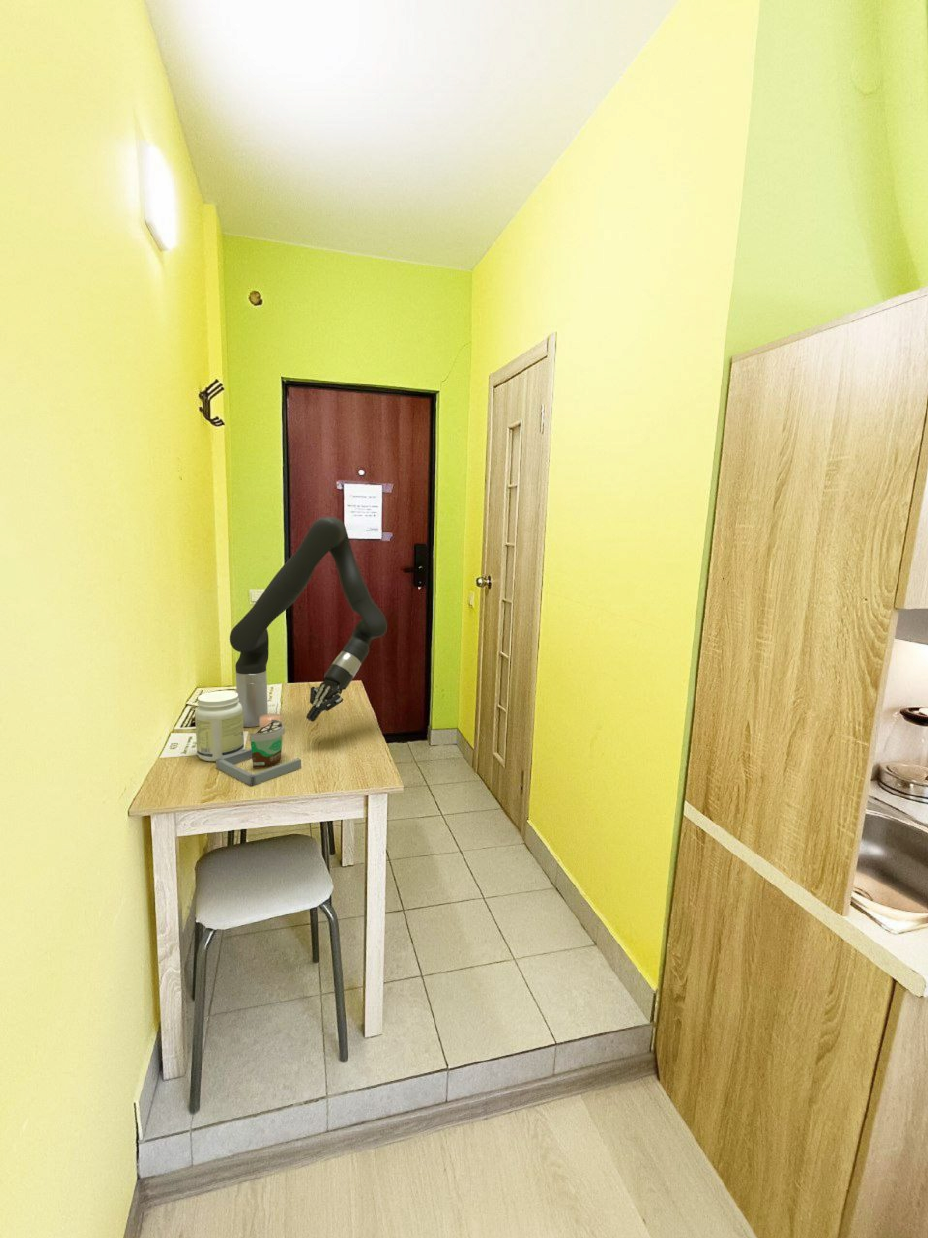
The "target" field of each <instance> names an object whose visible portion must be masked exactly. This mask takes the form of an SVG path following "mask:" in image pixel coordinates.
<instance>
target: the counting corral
mask: <svg viewBox="0 0 928 1238" xmlns="http://www.w3.org/2000/svg"><path fill="white" fill-rule="evenodd" d="M250 759H252V750H251V748H248V749H245V750H244V749H243V751H241V752H238V753H235V754H232V755H228V756H225V757H222V758H219V759H216V761H215V766H216V769H218V771H219V770H220V771H221V772H223V773H226V774H227V775H229V776H231V777H233V778H235V779H236V780H239V781H241V782H242V783H244V784H245V785H248V786H249V787H254V786H256V785H259V784H261V783H264V782H267V781H271V780H272V779H275V778H278V777H281V776H282V775H283V776H284V775H285V774H288V773H291V772H293V771H297V770H299V769H302V759H301V758H294V759H292V760H289V761H286V762H284V763H281V764H278V765H274V766H271V767H268V768H266V769H264V770H261V771H258V772H255V773H251V772H249V771H248V770H246V769H243V768H240V767H239V766H237V765H235V764H239V763H242V762H245V761H248V760H250Z"/></svg>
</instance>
